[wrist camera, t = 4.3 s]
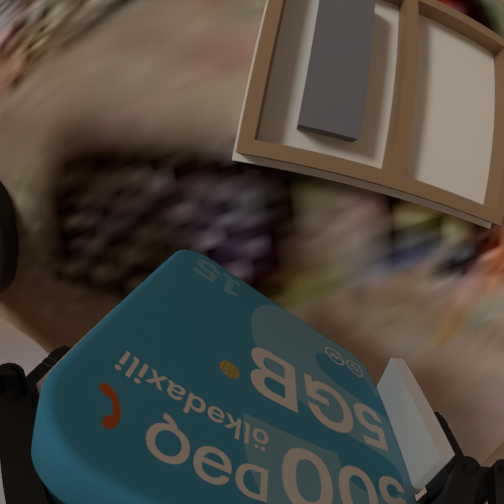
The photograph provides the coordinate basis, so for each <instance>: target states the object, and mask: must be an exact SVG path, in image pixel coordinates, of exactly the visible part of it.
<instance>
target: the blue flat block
mask: <svg viewBox="0 0 504 504" xmlns="http://www.w3.org/2000/svg"><path fill="white" fill-rule="evenodd" d="M31 455H32V461H33V465H34V467H35V470H36V472H37V474H38V475H39V477H40V479H41V480H42V482H43V484H44V486H45V488H46V489H47V491H48V493H49V495H50V496H51V498H52V499H53V501H54V502H55V504H417V502H416V498H415V495H414V492H413V489H412V486H411V483H410V480H409V477H408V474H407V471H406V468H405V465H404V462H403V459H402V456H401V453H400V450H399V448H398V445H397V442H396V439H395V436H394V434H393V431H392V428H391V426H390V423H389V420H388V418H387V415H386V412H385V410H384V407H383V405H382V402H381V399H380V397H379V394H378V392H377V389H376V387H375V384H374V382H373V379H372V377H371V375H370V373H369V372H368V370H367V369H366V368H365V366H364V365H363V364H362V363H361V362H360V361H359V360H358V359H357V358H356V357H355V356H354V355H353V354H351V353H350V352H349V351H347V350H345V349H344V348H342V347H341V346H339V345H338V344H336V343H335V342H333V341H332V340H330V339H328V338H327V337H325V336H324V335H322V334H321V333H319V332H318V331H316V330H315V329H313V328H312V327H310V326H309V325H307V324H306V323H304V322H303V321H301V320H300V319H298V318H297V317H295V316H294V315H292V314H291V313H289V312H288V311H286V310H285V309H283V308H282V307H280V306H279V305H277V304H276V303H274V302H273V301H271V300H270V299H268V298H267V297H265V296H264V295H262V294H261V293H259V292H258V291H256V290H255V289H253V288H252V287H251V286H249V285H248V284H246V283H245V282H243V281H242V280H240V279H239V278H237V277H236V276H235V275H233V274H232V273H230V272H229V271H227V270H226V269H224V268H223V267H222V266H220V265H219V264H217V263H216V262H214V261H213V260H211V259H210V258H208V257H206V256H204V255H202V254H200V253H197V252H194V251H191V250H180V251H177V252H176V253H174V254H173V255H172V256H171V257H170V258H169V259H168V260H166V261H165V262H164V263H163V264H162V265H161V266H160V267H159V268H157V269H156V270H155V271H154V272H153V273H152V274H151V275H150V276H149V277H147V278H146V279H145V280H144V281H143V282H142V283H141V284H140V285H139V286H138V287H136V288H135V289H134V290H133V291H132V292H131V293H130V294H129V295H128V296H127V297H126V298H125V299H124V300H122V301H121V302H120V303H119V304H118V305H117V306H116V307H115V308H114V309H113V310H112V311H111V312H110V313H109V314H108V315H107V316H106V317H104V318H103V319H102V320H101V321H100V322H99V323H98V324H97V325H96V326H95V327H94V328H93V329H92V330H91V331H90V332H89V333H88V334H87V335H86V336H85V337H84V338H83V339H82V340H81V341H80V342H79V343H78V344H77V345H76V346H75V347H74V348H73V349H72V350H71V351H70V352H69V353H68V354H67V355H66V356H65V357H64V358H63V359H62V360H61V361H60V362H59V363H58V364H57V365H56V366H55V367H54V368H53V369H52V370H51V372H50V373H49V374H48V376H47V377H46V379H45V381H44V383H43V386H42V389H41V392H40V397H39V402H38V407H37V413H36V419H35V425H34V431H33V438H32V446H31Z"/></svg>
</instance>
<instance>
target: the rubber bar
mask: <svg viewBox="0 0 504 504" xmlns="http://www.w3.org/2000/svg"><path fill="white" fill-rule="evenodd" d="M374 13H375V0H319V5H318V11H317V18H316V23H315V29H314V35H313V41H312V47H311V53H310V58H309V64H308V70H307V75H306V81H305V86H304V92H303V97H302V103H301V108H300V113H299V119H298V124H297V130H302V131H307V132H311V133H316V134H320V135H324V136H328V137H333V138H337V139H340V140H344V141H348V142H354V141H356V140H358V139H359V135H360V129H361V123H362V117H363V111H364V104H365V97H366V90H367V83H368V75H369V67H370V58H371V49H372V38H373V27H374Z"/></svg>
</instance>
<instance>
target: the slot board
mask: <svg viewBox="0 0 504 504" xmlns="http://www.w3.org/2000/svg"><path fill="white" fill-rule="evenodd" d="M318 5H319V0H266V4H265V8H264V12H263V16H262V21H261V25H260V29H259V33H258V38H257V42H256V46H255V51H254V55H253V60H252V64H251V69H250V73H249V78H248V83H247V87H246V92H245V97H244V102H243V106H242V111H241V116H240V121H239V126H238V131H237V136H236V141H235V147H234V152H233V157H232V160H234V161H239V162H245V163H251V164H256V165H261V166H267V167H272V168H277V169H282V170H287V171H292V172H296V173H301V174H306V175H310V176H315V177H319V178H323V179H327V180H332V181H336V182H340V183H344V184H348V185H352V186H356V187H360V188H363V189H367V190H371V191H375V192H378V193H382V194H385V195H389V196H392V197H396V198H399V199H403V200H406V201H409V202H412V203H416V204H419V205H422V206H425V207H428V208H431V209H435V210H438V211H441V212H444V213H447V214H449V215H452V216H455V217H458V218H461V219H464V220H467V221H469V222H472V223H475V224H478V225H480V226H483V227H486V228H488V229H490V228H491V224H492V223H493V224H496V225H499V226H501V225H502V221H503V216H504V39H503V38H502V37H500V36H499V35H497V34H496V33H494V32H493V31H491V30H490V29H488V28H486V27H485V26H483V25H482V24H480V23H478V22H477V21H475V20H473V19H471V18H470V17H468V16H466V15H464V14H462V13H461V12H459V11H457V10H455V9H453V8H451V7H449V6H447V5H445V4H443V3H441V2H439V1H437V0H375V13H374V27H373V38H372V49H371V58H370V67H369V75H368V83H367V90H366V97H365V104H364V111H363V117H362V123H361V129H360V135H359V139H358V140H356V141H354V142H348V141H344V140H340V139H337V138H333V137H328V136H324V135H320V134H316V133H311V132H307V131H302V130H297V124H298V119H299V113H300V108H301V103H302V97H303V92H304V86H305V81H306V75H307V70H308V64H309V58H310V53H311V47H312V41H313V35H314V29H315V23H316V18H317V11H318Z"/></svg>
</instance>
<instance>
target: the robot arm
mask: <svg viewBox="0 0 504 504" xmlns="http://www.w3.org/2000/svg"><path fill="white" fill-rule="evenodd" d="M17 252H18V249H17V233H16V226H15V221H14V216H13V212H12V208H11V205H10V202H9V199H8V196H7V194H6V192H5V190H4V188H3V186H2V184H1V183H0V293H1V292H2V291H4V290H6V289H7V288H8V287H9V286H10V284H11V283H12V281H13V278H14V275H15V271H16V266H17ZM111 311H112V310H111ZM111 311H110V312H111ZM110 312H109V313H110ZM109 313H108V314H109ZM108 314H107V315H108ZM107 315H106V316H107ZM106 316H105V317H106ZM95 326H96V325H95ZM95 326H94V327H95ZM94 327H93V328H94ZM93 328H92V329H93ZM92 329H91V330H92ZM91 330H90V331H91ZM90 331H89V332H90ZM89 332H88V333H89ZM88 333H87V334H88ZM87 334H86V335H87ZM86 335H85V336H86ZM85 336H84V337H85ZM84 337H83V338H84ZM83 338H82V339H83ZM82 339H81V340H82ZM81 340H80V341H81ZM80 341H79V342H80ZM79 342H78V343H79ZM78 343H77V344H78ZM77 344H76V345H77ZM76 345H75V346H76ZM75 346H74V347H75ZM74 347H73V348H74ZM73 348H70V347H68V346H65V345H64V346H62V347H60V348H57V349H55V350H54V351H53V352H52V353H51V354H49V355H48V357H47V358H45V359H44V360H43V361H42V363H40V364H39V365H38V366H37V367H36V368H35V369H34V370H33V371H32V372H31V373H29V374H28V375H27V376H25V373H24V370H23V369H22V368H21V367H20V366H19V365H17V364H15V363H5V364H2V365H0V463H1V473H2V481H3V488H4V494H5V500H6V504H55V502H54V501H53V499H52V498H51V496H50V495H49V493H48V491H47V489H46V488H45V486H44V484H43V482H42V480H41V479H40V477H39V475H38V474H37V472H36V470H35V467H34V465H33V461H32V455H31V446H32V438H33V431H34V425H35V419H36V413H37V407H38V402H39V397H40V392H41V389H42V386H43V383H44V381H45V379H46V377H47V376H48V374H49V373H50V372H51V370H52V369H53V368H54V367H55V366H56V365H57V364H58V363H59V362H60V361H61V360H62V359H63V358H64V357H65V356H66V355H67V354H68V353H69V352H70V351H71V350H72V349H73ZM376 389H377V392H378V394H379V397H380V399H381V402H382V405H383V407H384V410H385V412H386V415H387V418H388V420H389V423H390V426H391V428H392V431H393V434H394V436H395V439H396V442H397V445H398V448H399V450H400V453H401V456H402V459H403V462H404V465H405V468H406V471H407V474H408V477H409V480H410V483H411V486H412V489H413V492H414V495H415V494H418V493H419V492H420V491H421V490H422V489H423V488H424V487H426V490H427V493H426V494H424V495H423V496H422V497H421V498H420V499H419V500H418V501H417V504H418V503H419V504H485V503H486V502H487V501H488V504H504V459H501V460H498V461H496V462H495V463H494V464H493V466H491V467H481V466H480V465H479V463H478V462H477V461H476V460H475V459H474V458H472V457H468V456H464V455H463V453H462V451H461V449H460V447H459V445H458V443H457V441H456V439H455V437H454V435H452V432H451V430H450V428H449V426H448V424H447V422H446V420H445V419H444V418H443V417H442V416H441V415H440V414H439V413H438V412H433V410H432V409H431V407H430V405H429V403H428V401H427V399H426V398H425V396H424V394H423V392H422V390H421V389H420V387H419V385H418V383H417V381H416V380H415V378H414V376H413V374H412V373H411V371H410V369H409V367H408V366H407V364H406V362H405V361H404V359H401V358H390V361H389V363H388V365H387V367H386V369H385V371H384V373H383V375H382V377H381V379H380V381H379V383H378V385H377V387H376Z"/></svg>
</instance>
